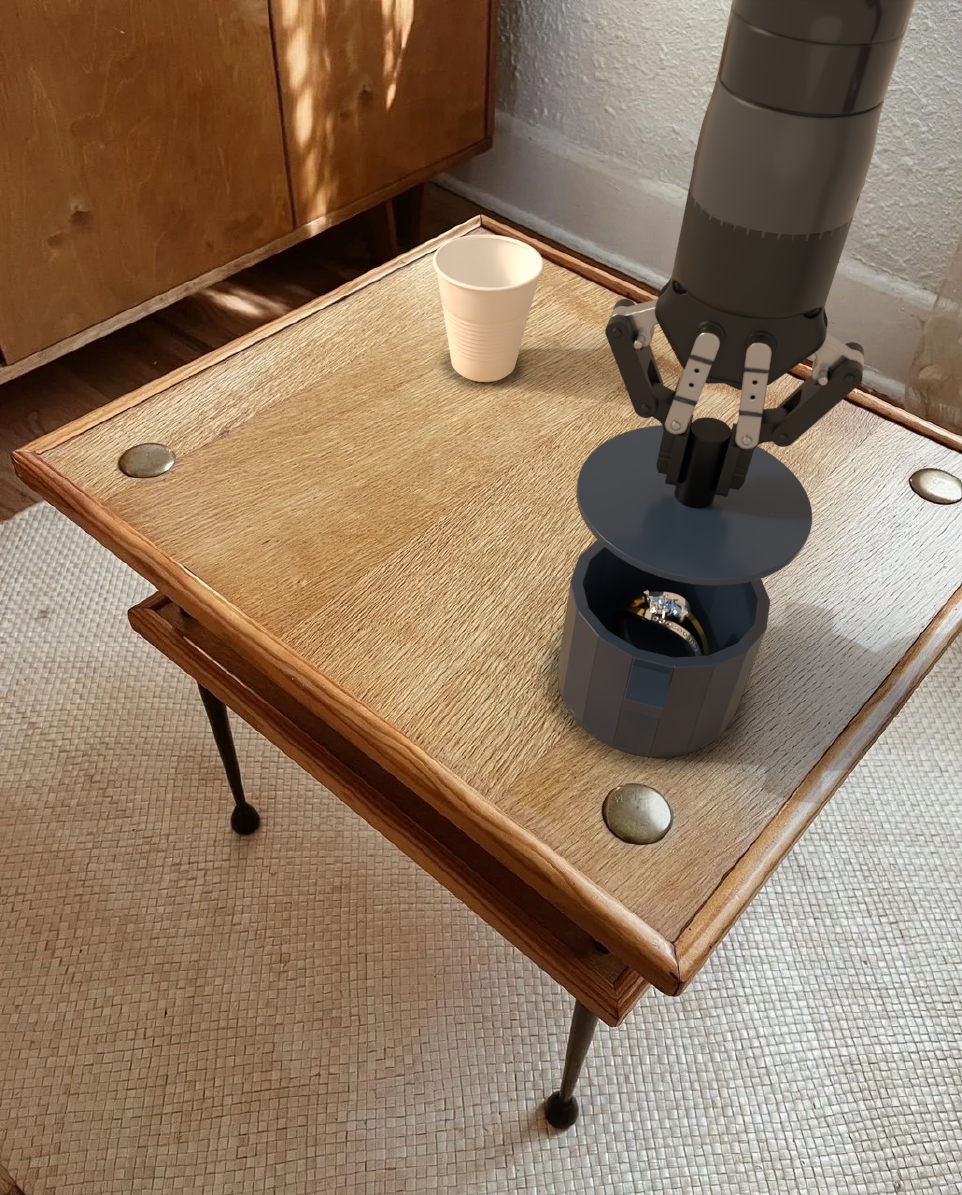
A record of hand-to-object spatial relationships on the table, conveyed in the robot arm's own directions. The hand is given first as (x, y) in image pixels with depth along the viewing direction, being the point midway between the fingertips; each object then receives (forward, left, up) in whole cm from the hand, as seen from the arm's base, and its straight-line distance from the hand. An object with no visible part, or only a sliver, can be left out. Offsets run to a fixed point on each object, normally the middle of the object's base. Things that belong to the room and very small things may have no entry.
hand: (698, 480), depth 59 cm
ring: (0, 0, -18) cm, 18 cm away
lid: (0, 0, -2) cm, 2 cm away
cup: (+22, -34, -19) cm, 45 cm away
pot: (0, 0, -19) cm, 19 cm away
